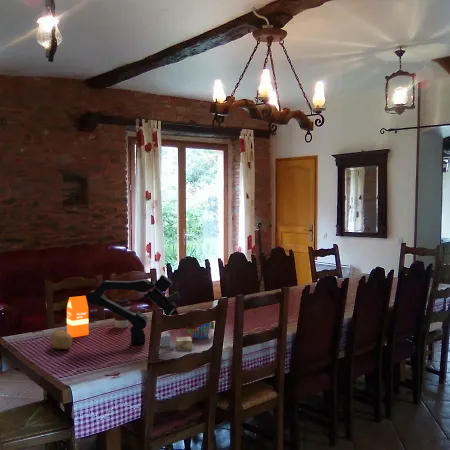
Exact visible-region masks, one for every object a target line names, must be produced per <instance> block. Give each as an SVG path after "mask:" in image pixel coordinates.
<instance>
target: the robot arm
mask: <svg viewBox="0 0 450 450" xmlns="http://www.w3.org/2000/svg"><path fill="white" fill-rule="evenodd" d="M172 285H173V281H172V280H171V279H170V278H169V277H166V275H163V274H161V275H160V276H159V278H158V279H157V280H156V281H153V280H152V281H150V280H149V279H148V278H143V279H142V278H141V279H137V280H109V279H108V280H107V279H106V280H103V282H102V283H101V284H100V285H99V286H98V287H97V288H96V289H94V290H91V291H90V292H88V294H87V295H86V300H87V304H88V303H89V304H90V305H93V306H96V307H102V308H103V309H105V310H108V311H110V312H111V313H113V314H114V313H115V314H117V315H119V316H121V317H123V318H125V319H127V320H128V321H129V323H130V324H131V327H130V328H129V332H130V346H144V345H145V343H146V332H145V330H144V329H145V328H146V327H147V325H148V324H149V319H148V317H147V316H146V314H145V313H142V312H141V311H140V310H138V311H137V312H132V311H131V310H130V311H129V310H127V309H125V308H124V307H122V306H120V305H118V304H116V303H114V302H115V301H113V300H110V299H109V298H107V296H106V295H105V294H104V293H105V292H106V291H107V290H131V291H134V292H139V293H143V300H144V301H146V299H147V298H148V299H149V300H151V302H153V303H154V304H155V306H157V307H159V309H161V308H163V310H164V311H163V310H162V311H163V314H164V315H165V314H166V315H168V316H169V315H175V314H180V313H179V311H178V310H177V309H178V307H177V305H176V303H175V302H174V301H176V300H178V299H180V298H181V296H180V294H179V291H174V290H173V291H171V292H170V295H168V296H166V295H164V294H163V292H164V293H165V292H167V291H168V289H169V288H170V287H171V286H172ZM146 292H147V293H146ZM166 315H165V316H166Z"/></svg>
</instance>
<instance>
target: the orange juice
mask: <svg viewBox="0 0 450 450" xmlns="http://www.w3.org/2000/svg"><path fill="white" fill-rule="evenodd" d="M66 332H67V333H69V334H70V335H71V336H72V338H76V337H83V336H87V335H88V336H89V306H88V302H87V295H81V296H79V295H78V296H72V297H71V296H69V299H68V300H67V306H66Z"/></svg>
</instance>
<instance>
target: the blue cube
mask: <svg viewBox="0 0 450 450" xmlns="http://www.w3.org/2000/svg"><path fill="white" fill-rule="evenodd" d="M170 346H171V334H170V333H163V334H162V336H161V348H162V347H170Z"/></svg>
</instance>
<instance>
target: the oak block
mask: <svg viewBox="0 0 450 450" xmlns="http://www.w3.org/2000/svg"><path fill="white" fill-rule="evenodd" d="M175 340H176V341H175V344H176V347H177V350H178V349H192V344H193V340H192V336H176V337H175Z"/></svg>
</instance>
